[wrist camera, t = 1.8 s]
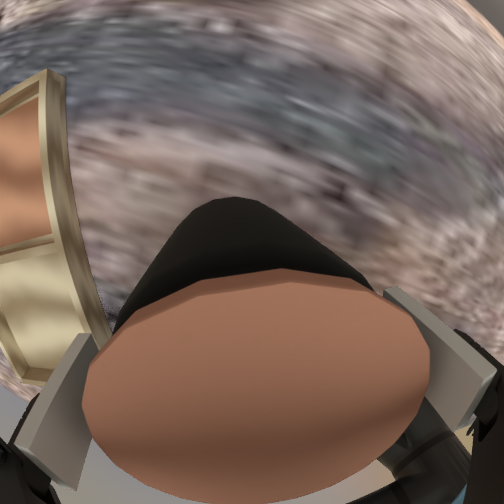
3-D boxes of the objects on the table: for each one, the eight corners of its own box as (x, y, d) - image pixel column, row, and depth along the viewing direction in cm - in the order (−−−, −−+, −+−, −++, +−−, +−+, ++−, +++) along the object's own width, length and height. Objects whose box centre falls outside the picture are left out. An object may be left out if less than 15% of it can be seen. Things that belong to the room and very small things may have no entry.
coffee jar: (157, 294, 24) (90, 477, 6) (192, 177, 21) (93, 200, 4) (268, 326, 26) (326, 502, 9) (313, 221, 23) (481, 326, 6)
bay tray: (127, 370, 26) (120, 392, 22) (32, 367, 25) (20, 382, 21) (65, 77, 17) (47, 68, 13) (-29, 133, 16) (-48, 133, 12)
